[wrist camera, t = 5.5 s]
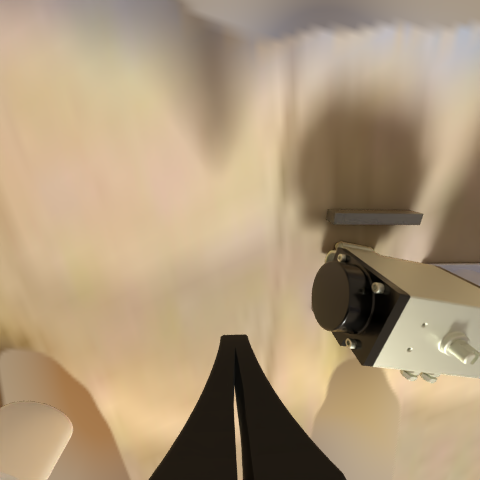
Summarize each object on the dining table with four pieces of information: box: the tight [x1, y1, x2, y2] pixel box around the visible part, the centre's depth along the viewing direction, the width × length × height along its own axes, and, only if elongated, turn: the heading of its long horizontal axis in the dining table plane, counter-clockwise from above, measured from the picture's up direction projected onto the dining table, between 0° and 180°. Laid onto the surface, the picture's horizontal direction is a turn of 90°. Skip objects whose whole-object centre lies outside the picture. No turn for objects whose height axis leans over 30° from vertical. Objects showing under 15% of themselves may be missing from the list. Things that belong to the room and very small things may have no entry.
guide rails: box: [312, 209, 423, 311], centre depth 22 cm, size 8×11×2 cm
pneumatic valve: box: [312, 241, 480, 383], centre depth 17 cm, size 6×12×12 cm, turn 78°
